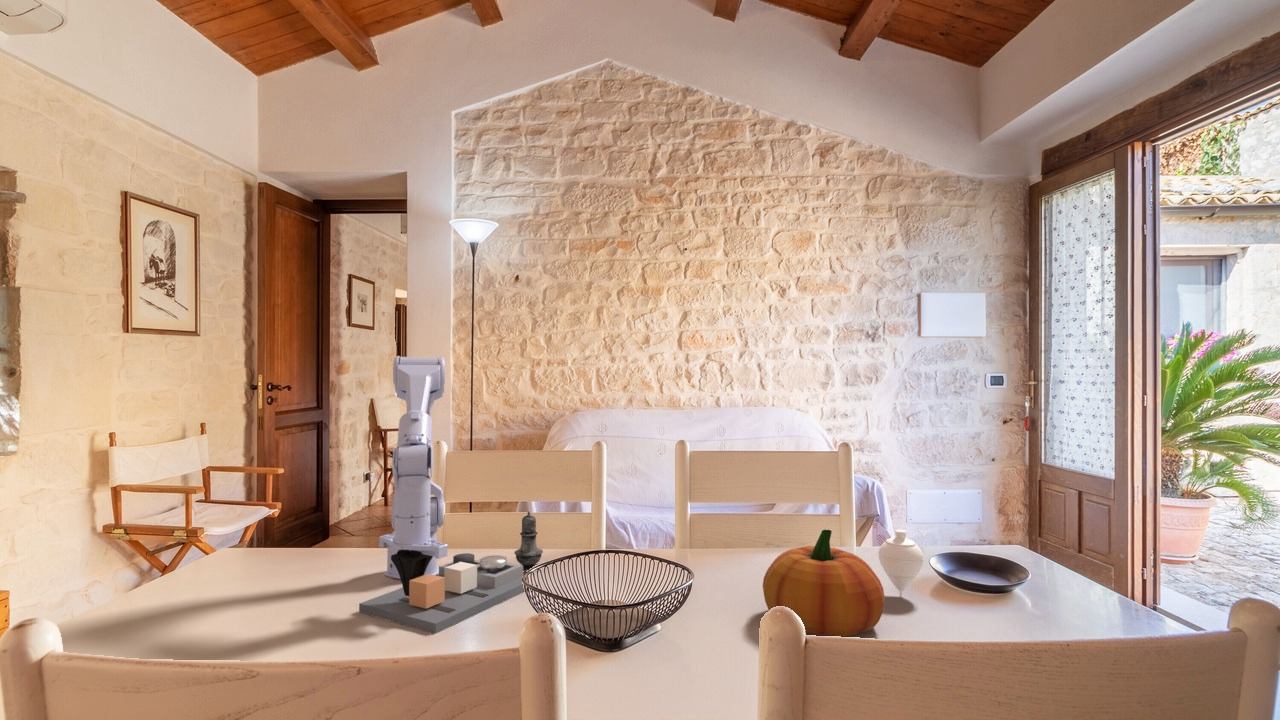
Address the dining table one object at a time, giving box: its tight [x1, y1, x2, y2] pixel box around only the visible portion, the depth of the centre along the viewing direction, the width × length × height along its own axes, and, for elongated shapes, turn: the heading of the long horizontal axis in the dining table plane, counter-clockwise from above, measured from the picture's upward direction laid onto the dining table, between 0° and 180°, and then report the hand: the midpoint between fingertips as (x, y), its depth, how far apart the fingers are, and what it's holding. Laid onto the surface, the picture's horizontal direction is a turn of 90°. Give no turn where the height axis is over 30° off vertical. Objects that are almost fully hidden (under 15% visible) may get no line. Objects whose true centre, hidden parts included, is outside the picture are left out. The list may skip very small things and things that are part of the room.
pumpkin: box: [762, 529, 885, 637], centre depth 104 cm, size 19×19×15 cm
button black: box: [452, 552, 475, 564], centre depth 124 cm, size 4×4×1 cm
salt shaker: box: [513, 511, 544, 574], centre depth 132 cm, size 6×6×12 cm
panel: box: [358, 559, 525, 634], centre depth 114 cm, size 18×26×4 cm
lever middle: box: [444, 562, 477, 594], centre depth 114 cm, size 4×4×4 cm
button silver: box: [479, 554, 508, 571], centre depth 121 cm, size 5×5×2 cm
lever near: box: [409, 574, 445, 609], centre depth 107 cm, size 4×4×4 cm
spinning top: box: [878, 529, 924, 597], centre depth 116 cm, size 8×8×12 cm
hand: (412, 594), depth 108 cm, fingers closed
